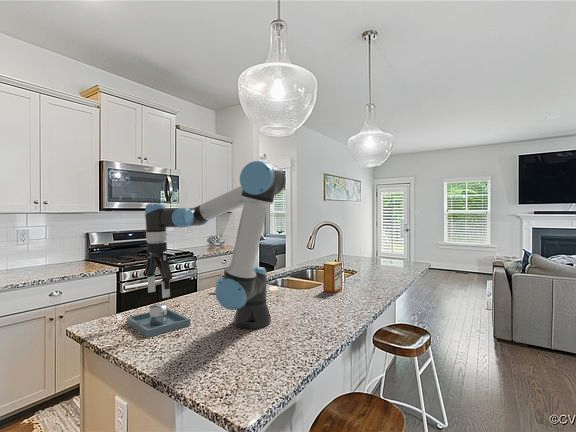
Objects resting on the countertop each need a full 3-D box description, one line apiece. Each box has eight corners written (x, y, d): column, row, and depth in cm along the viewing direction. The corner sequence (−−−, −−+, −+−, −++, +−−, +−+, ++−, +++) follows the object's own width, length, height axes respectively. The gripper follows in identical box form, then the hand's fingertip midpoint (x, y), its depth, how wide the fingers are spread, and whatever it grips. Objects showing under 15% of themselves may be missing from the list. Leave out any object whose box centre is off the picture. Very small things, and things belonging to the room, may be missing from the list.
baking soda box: (332, 287, 189) (332, 260, 189) (342, 289, 185) (341, 261, 185) (323, 291, 182) (323, 263, 181) (333, 293, 178) (333, 264, 177)
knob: (169, 322, 131) (169, 305, 131) (153, 326, 127) (153, 308, 127) (162, 319, 136) (162, 302, 136) (147, 322, 132) (147, 305, 131)
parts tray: (190, 325, 130) (190, 319, 130) (147, 337, 118) (147, 330, 118) (166, 313, 145) (166, 307, 145) (126, 323, 133) (126, 317, 133)
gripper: (180, 242, 125) (182, 297, 125) (153, 240, 142) (155, 288, 143) (160, 244, 119) (163, 302, 120) (135, 241, 137) (137, 291, 137)
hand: (158, 294), depth 131 cm, fingers open, 13 cm apart
